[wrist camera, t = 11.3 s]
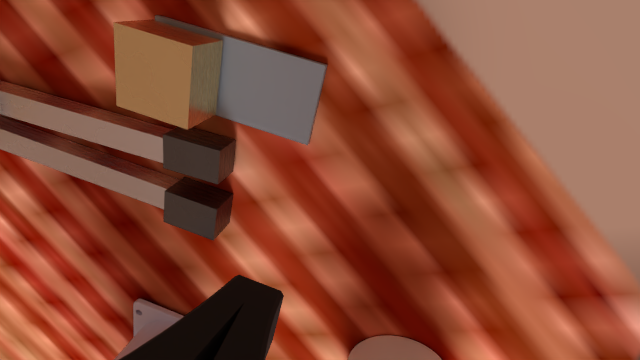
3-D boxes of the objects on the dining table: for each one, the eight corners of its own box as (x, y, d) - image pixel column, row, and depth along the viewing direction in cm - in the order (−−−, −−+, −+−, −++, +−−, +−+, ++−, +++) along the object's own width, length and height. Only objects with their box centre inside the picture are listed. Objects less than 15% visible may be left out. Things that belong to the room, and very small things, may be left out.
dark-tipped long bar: (229, 222, 22) (207, 246, 20) (-31, 128, 24) (-75, 140, 22) (236, 172, 20) (213, 191, 18) (-43, 75, 22) (-92, 83, 20)
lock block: (215, 114, 18) (187, 129, 16) (151, 93, 19) (116, 105, 17) (222, 40, 17) (192, 46, 14) (152, 19, 17) (113, 22, 15)
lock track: (309, 143, 18) (307, 145, 18) (157, 93, 19) (153, 94, 19) (327, 64, 16) (325, 65, 16) (159, 15, 17) (154, 15, 17)
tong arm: (231, 189, 20) (203, 216, 18) (-31, 109, 23) (-88, 123, 20) (235, 139, 19) (205, 161, 16) (-44, 61, 21) (-107, 69, 19)
